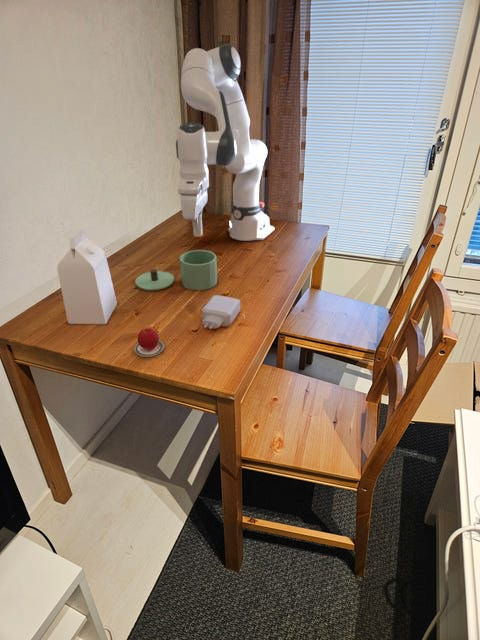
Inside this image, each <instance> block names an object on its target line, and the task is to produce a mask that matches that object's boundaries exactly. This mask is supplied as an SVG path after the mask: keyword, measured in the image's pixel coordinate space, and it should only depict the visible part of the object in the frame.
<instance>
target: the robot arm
mask: <svg viewBox="0 0 480 640" xmlns="http://www.w3.org/2000/svg"><path fill="white" fill-rule="evenodd" d="M241 68H242V63H241V57H240V54H239V53H238V50H237V48H236V47H235V46H234V45H232V44H231V43H223V44H221V45H219V46H218V47H215V48H211V49H209V50H207V51H206V50H205V49H203V48H199V47H195V48H192V49H190V50H189V51H188V52H187V53H186V55H185V56H184V60H183V64H182V68H181V77H180V89H181V90H180V91H181V95H182V97H183V99H184V101H185V102H186V103H187V105H188V106H190V107H191V108H192V109H195V110H198V111H201V112H204V113H208V114H210V115H212V116H213V117H215V118H216V123H217V127H218V130H217V131H206V129H205V126H204V125H203V124H201V123H199V122H186V123H182V124H180V126H179V127H178V129H177V131H178V133H177V139H176V141H175V149H176V150H175V151H176V158H177V160H178V161H179V165H180V167H179V183H178V186H177V192H178V194H179V195H180V197H179V198H180V208H181V214H182V217H183V219H184V221H191V223H192V224H191V225H192V226H191V227H192V228H193V227H198V226H199V221H198V215H199V213H200V212H202V214H201V215H202V216H203V209H204V208H205V206H206V205H207V203H208V198H209V197H208V189H209V187H210V177H209V175H210V173H209V167H208V165H216V166H223V167H224V168H225V170H226V171H227V172H228V173H230V174H232V175H236V176H235V179H234V181H233V184H232V203H231V214H230V220H229V221H228V222H229V228H228V233H229V237H230V238H232V239H233V240H237V241H243V242H245V241H246V242H247V241H263V240H265V239H266V238H267V237H268V236H269V235H271V233H273V232H274V231H275V227H274V226H273V225H271V224H270V217H269V216H268V213H267V211H268V210H266V211H265V213H264V212H263V211H262V209H261V208H264V207H265V202H261V201H259V200H260V199H259V198H260V183H261V178H262V173H263V169H264V164H265V161H266V158H267V156H268V148H267V146H266V144H265V143H264V142H263V141H262V140H260V139H255V138H251V139H250V125H251V118H250V115H249V112H248V108H247V104H246V101H245V97H244V95H243V92H242V90H241V87H240V84H239V83H238V79H239V75H240V73H241V70H242V69H241Z"/></svg>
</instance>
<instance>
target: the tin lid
mask: <svg viewBox="0 0 480 640" xmlns="http://www.w3.org/2000/svg"><path fill="white" fill-rule="evenodd" d="M174 282H175V276H174V275H173V274H172V273H170V272H167V271H163V270H157V269H155V268H154V269H150V271H148V272H144V273H142V274H140V275H138V276H137V277H136V279H135V280H134V283H135V284H134V285H135V286H136V287H137V288H138V289H140V290H144V291H160V290H164V289H167V288H169V287H170V286H172V285H173V284H174Z"/></svg>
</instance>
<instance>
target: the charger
mask: <svg viewBox="0 0 480 640" xmlns="http://www.w3.org/2000/svg"><path fill="white" fill-rule="evenodd" d="M240 312H241V300H240V299H238V298H235V297H230V296H224V295H218V294H214V295H213V296H211V298H210V299H209V300H208V301H207V302H206V303H205V305H204V306H203V307H202V309H201V319H202V321H201V324H202V325H203V326H204V327H203V328H204V329H206V328H209V330H212V329H218V328H220V327H230V326H231V325H232V323H233V322H234V320H235V319H236V317H238V315H239V313H240Z"/></svg>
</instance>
